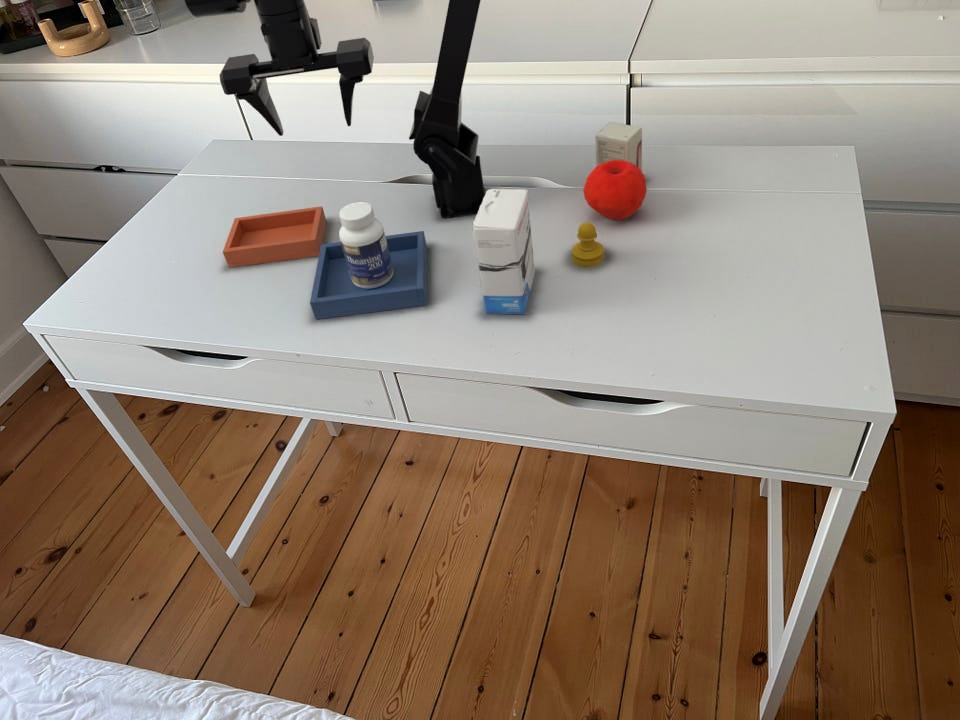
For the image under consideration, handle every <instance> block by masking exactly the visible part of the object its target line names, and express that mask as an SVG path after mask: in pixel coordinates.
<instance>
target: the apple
mask: <svg viewBox="0 0 960 720" xmlns="http://www.w3.org/2000/svg"><path fill="white" fill-rule="evenodd" d="M582 190H583V196H584V200H585V202H586V203H587V205H588V206H589V207H590V208H591V209H592V210H594V211H595V212H596V213H598V214H599V215H600V216H602V217H604V218H606V219H610V220H615V221H620V220H625V219H627V218H629V217H631V216H632V215H634V213H636V212H638V210H639V209H640V207H642V205H643V203H644V201H645V198H646V195H647V191H648V190H647V182H646V175H645V174H644V172H643V170H642V171H641V170H640V168H638V167H637V166H636V165H634V164H633V163H630V162H627V161H623V160H612V161H608V162H605V163H602V164H599V165H598V166H597V165H596V166H595V167H594V168H593V169H592V170H591V171H590V173H589V174H588V176H586V179H585V183H584V186H583V189H582Z"/></svg>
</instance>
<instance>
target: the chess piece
mask: <svg viewBox="0 0 960 720" xmlns="http://www.w3.org/2000/svg"><path fill="white" fill-rule="evenodd" d="M596 228H597V227H596V226H595V224H593V223H592V222H589V221H588V222H583V223H581V224H580V225H579V227H578V229H577V234H576V239H578V240H580V241H579V242H577V243H575V244H574V245H573V246H572V247H571V260H572V263H573V264H574V265H575V266H578V267H580V268H594V267H597V266H599V265H601V264H602V263H603V262H604V260H605V252H604V251H605V248H604V245H603V244H602V243H601V242H599V241H596V239H597V237H598V233H597V229H596Z"/></svg>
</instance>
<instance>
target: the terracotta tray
mask: <svg viewBox="0 0 960 720" xmlns="http://www.w3.org/2000/svg"><path fill="white" fill-rule="evenodd" d="M327 222H328V221H327V218H326V213H325V210H324V207H323V205H321V206H314V207H313V206H312V207H308V208H307V207H305V208H298V209H292V210H291V209H290V210H286V211H285V210H283V211H278V212H277V211H276V212H269V213H261V214H256V215H247V216H241V217H235V218H234V219H233V222H232V225H231V227H230V230H229V233H228V236H227V239H226V241H225V244H224V247H223V249H222V254H223V256H224V259H225V261H226V264H227V266H228V268H229V269H230V268H238V267H247V266H253V265H260V264H268V263H275V262H282V261H290V260H291V261H292V260H298V259H299V260H300V259H306V258H313V257H319V253H320V248H321V244H324V239H325V234H326V229H327V228H326V227H327Z"/></svg>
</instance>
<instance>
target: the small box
mask: <svg viewBox="0 0 960 720" xmlns="http://www.w3.org/2000/svg"><path fill="white" fill-rule="evenodd" d="M594 138H595V159H596V164H595V165H596V167H597V166H598V165H599V164H602V163H605V162H608V161H612V160H623V161H627V162H630V163H633V164H634V165H636V166H637V167H638V168H640V170H641V171H642V172H643V127H641V126H637V125H630V124H625V123H618V122H613V121H610V122H608V123H607V124H606V125H605V126H604V127H603V128H601V129H600V130H599V131H598V132H596V134H595V135H594Z"/></svg>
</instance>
